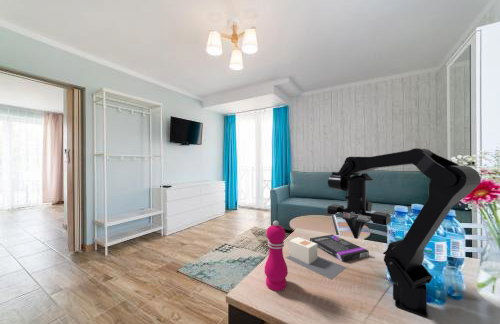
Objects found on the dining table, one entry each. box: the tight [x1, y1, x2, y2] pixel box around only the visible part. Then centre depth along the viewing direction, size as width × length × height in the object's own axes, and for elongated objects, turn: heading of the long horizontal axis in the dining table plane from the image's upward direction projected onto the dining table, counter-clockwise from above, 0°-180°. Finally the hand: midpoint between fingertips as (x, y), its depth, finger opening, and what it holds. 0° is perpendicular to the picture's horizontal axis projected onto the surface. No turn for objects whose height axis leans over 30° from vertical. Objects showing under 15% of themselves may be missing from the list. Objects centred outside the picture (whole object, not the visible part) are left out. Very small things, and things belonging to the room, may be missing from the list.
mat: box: [285, 255, 347, 280], centre depth 74 cm, size 19×11×1 cm, turn 40°
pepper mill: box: [264, 220, 289, 292], centre depth 61 cm, size 7×7×20 cm
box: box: [309, 234, 370, 263], centre depth 85 cm, size 14×4×20 cm
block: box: [288, 236, 318, 264], centre depth 78 cm, size 6×6×9 cm
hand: (356, 238), depth 67 cm, fingers closed
